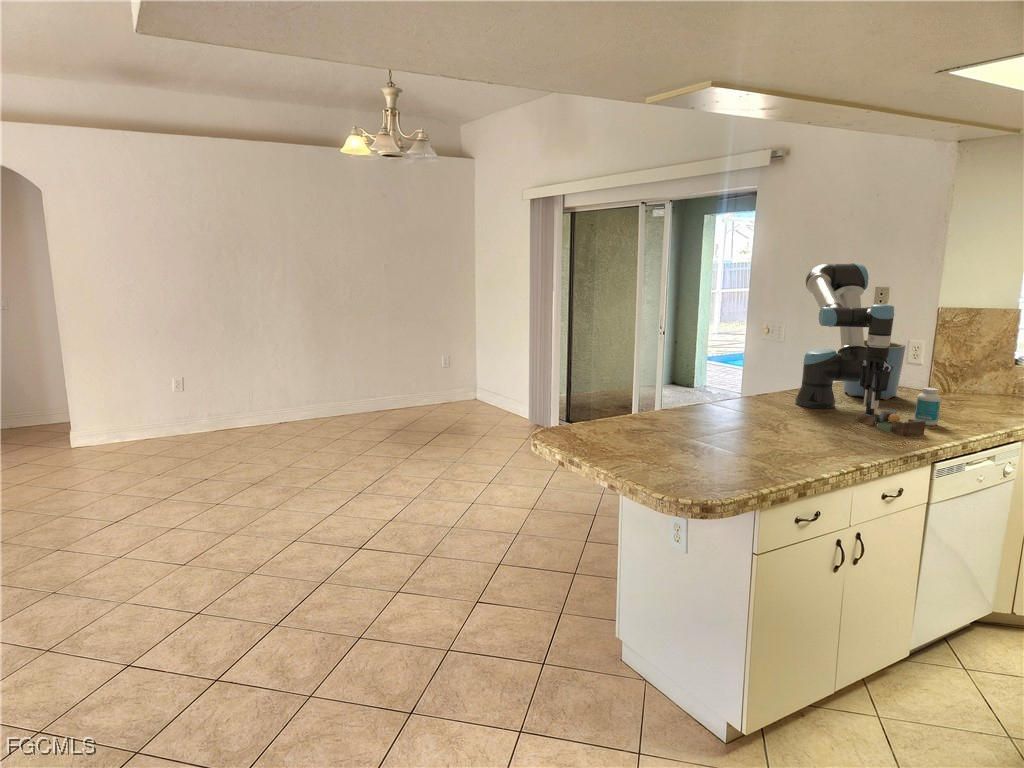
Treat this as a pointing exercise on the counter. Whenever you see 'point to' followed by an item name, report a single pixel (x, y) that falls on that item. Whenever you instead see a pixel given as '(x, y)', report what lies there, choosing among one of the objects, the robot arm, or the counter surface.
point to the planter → (892, 360)
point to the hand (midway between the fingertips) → (870, 407)
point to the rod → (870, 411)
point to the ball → (893, 418)
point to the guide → (866, 419)
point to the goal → (908, 427)
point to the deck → (885, 426)
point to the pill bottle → (928, 406)
